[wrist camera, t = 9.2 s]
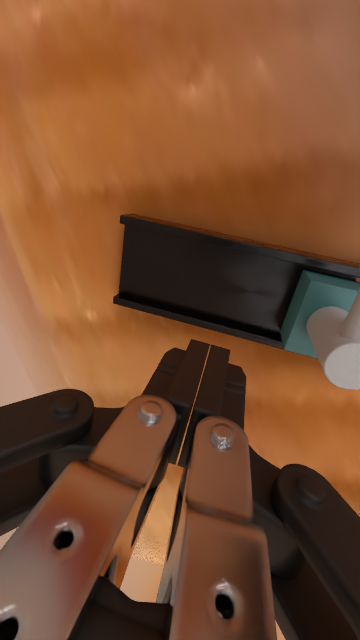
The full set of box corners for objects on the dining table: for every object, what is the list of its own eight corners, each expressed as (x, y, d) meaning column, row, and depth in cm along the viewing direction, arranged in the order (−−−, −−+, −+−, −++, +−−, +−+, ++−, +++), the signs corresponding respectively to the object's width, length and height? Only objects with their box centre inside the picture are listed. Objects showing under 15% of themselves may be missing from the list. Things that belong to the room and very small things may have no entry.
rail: (131, 213, 22) (113, 215, 19) (416, 276, 19) (444, 289, 17) (123, 295, 25) (107, 307, 22) (369, 360, 22) (386, 384, 20)
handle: (322, 218, 18) (366, 230, 11) (387, 231, 18) (479, 253, 11) (279, 331, 22) (292, 396, 15) (332, 345, 21) (373, 419, 14)
